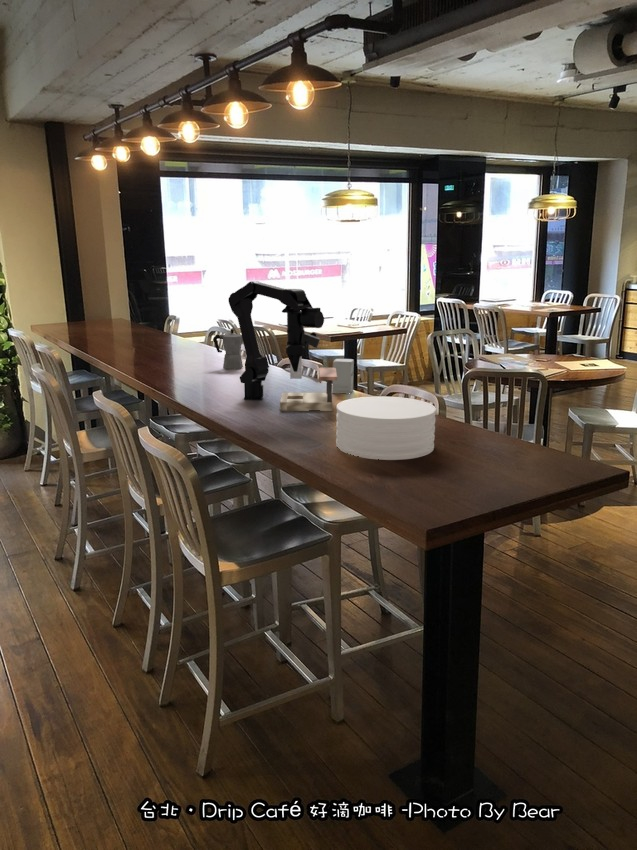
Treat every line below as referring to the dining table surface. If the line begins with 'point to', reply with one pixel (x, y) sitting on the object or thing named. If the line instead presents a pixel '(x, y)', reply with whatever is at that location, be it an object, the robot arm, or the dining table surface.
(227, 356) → the coffeepot
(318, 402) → the socket block
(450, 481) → the dining table surface
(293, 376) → the peg
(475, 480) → the dining table surface
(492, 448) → the dining table surface
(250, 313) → the robot arm
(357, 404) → the plate stack
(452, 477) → the dining table surface
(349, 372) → the supplement box
